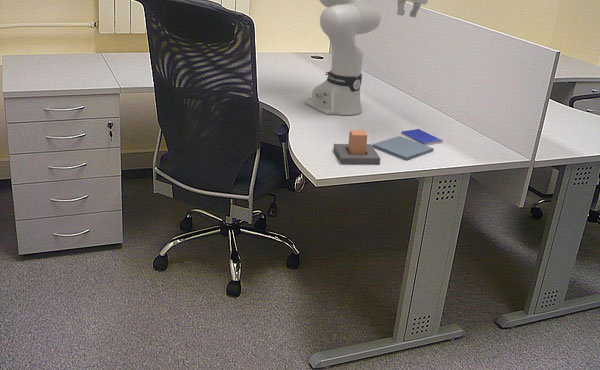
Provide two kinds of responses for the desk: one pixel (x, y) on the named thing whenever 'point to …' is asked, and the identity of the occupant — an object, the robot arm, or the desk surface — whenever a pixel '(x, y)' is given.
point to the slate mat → (402, 147)
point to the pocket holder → (347, 158)
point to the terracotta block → (357, 142)
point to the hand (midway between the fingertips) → (406, 16)
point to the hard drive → (421, 137)
